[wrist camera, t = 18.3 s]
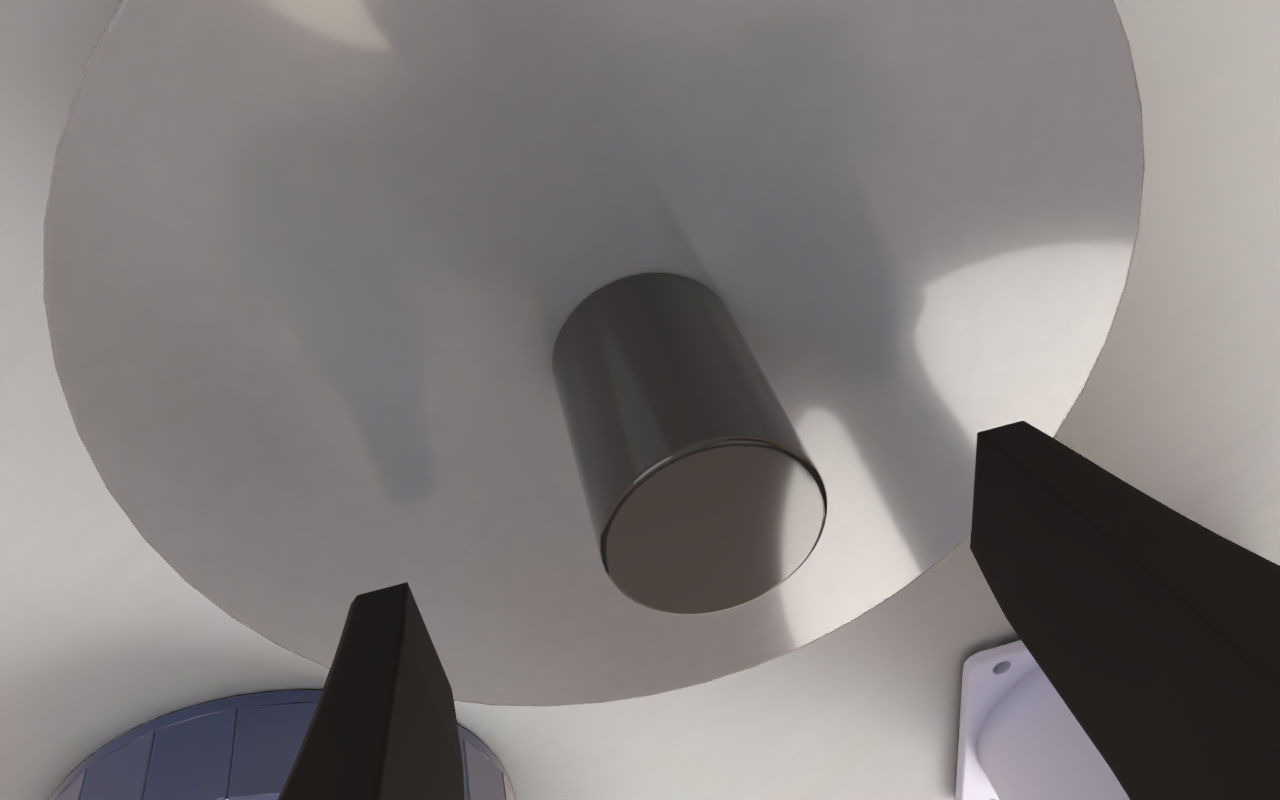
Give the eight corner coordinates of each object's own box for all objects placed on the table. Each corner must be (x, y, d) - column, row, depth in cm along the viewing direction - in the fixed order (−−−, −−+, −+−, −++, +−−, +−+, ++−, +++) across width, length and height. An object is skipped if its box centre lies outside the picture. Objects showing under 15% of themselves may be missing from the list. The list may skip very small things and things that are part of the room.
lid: (1170, -414, 11) (1586, -446, 7) (1051, 534, 19) (1215, 742, 15) (-219, -135, 9) (-569, -3, 6) (303, 741, 18) (288, 1017, 14)
